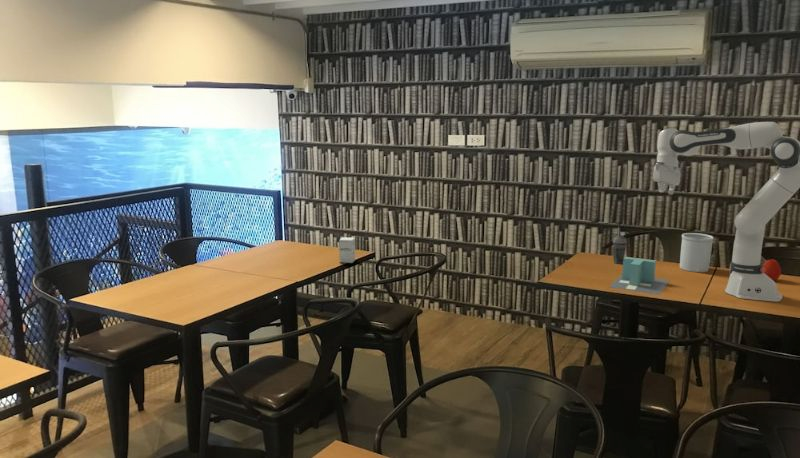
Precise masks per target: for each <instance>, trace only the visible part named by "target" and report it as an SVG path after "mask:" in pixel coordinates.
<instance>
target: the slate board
mask: <svg viewBox="0 0 800 458" xmlns="http://www.w3.org/2000/svg"><path fill="white" fill-rule="evenodd" d="M669 282H670V279H664V278H656V277H655V280H654V282H653V283H650V282H643V281H642V282H641V283H640V284H639V285H638V286H635V285H629V280H628V279H622V273H621V274H620V275H619V276H618V277H617V278H616V279H615V280H614V281H613V282H612V283H611V285H609V289H610V288H611V289H617V290H618V289H619V290H625V291H632V292H633V291H634V292H638V293H639V292H640V293H647V294H652V295H661V293H662V292H663V290H664V289H665V288H666V286H667V285H668V283H669Z"/></svg>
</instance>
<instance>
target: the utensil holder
mask: <svg viewBox="0 0 800 458" xmlns="http://www.w3.org/2000/svg"><path fill="white" fill-rule="evenodd" d="M713 241H714V236H713V235H709V234H706V233H697V232H686V233H685V232H684V233H682V234H681V246H680V257H679V258H680V259H679V268H680V269H681V270H684V271H688V272H692V273H693V272H694V273H706V272H708V271H710V270H709V269H710V263H711V257H712V256H711V255H712V249H713Z"/></svg>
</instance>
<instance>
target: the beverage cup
mask: <svg viewBox="0 0 800 458" xmlns="http://www.w3.org/2000/svg"><path fill="white" fill-rule="evenodd" d="M617 230H618V231H617V235H616V236H614V238H613V239H612V247H613V250H612V251H613V264H614V265H622V266H623V259H624V258H625V255H626V254H625V253H626V247H627V244H628V241H627V238H626V237H625V236H624V235H620V227H619V226H618V227H617Z"/></svg>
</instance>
